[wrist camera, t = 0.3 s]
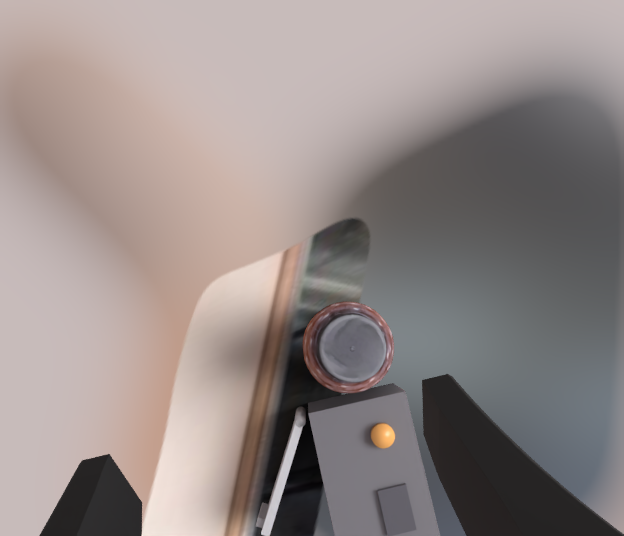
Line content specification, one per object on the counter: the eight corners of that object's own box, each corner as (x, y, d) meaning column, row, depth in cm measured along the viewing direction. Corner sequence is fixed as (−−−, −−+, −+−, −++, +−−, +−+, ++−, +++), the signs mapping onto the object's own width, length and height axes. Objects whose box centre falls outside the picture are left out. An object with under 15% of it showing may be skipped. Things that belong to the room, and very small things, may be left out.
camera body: (431, 546, 38) (453, 584, 32) (343, 567, 38) (350, 609, 32) (393, 383, 39) (407, 392, 34) (308, 402, 39) (308, 414, 34)
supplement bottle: (363, 391, 39) (385, 416, 28) (293, 367, 39) (287, 383, 28) (385, 320, 40) (415, 316, 29) (316, 297, 40) (319, 285, 29)
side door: (274, 515, 38) (270, 537, 34) (259, 510, 38) (254, 531, 34) (307, 408, 39) (307, 417, 35) (292, 403, 39) (291, 412, 35)
